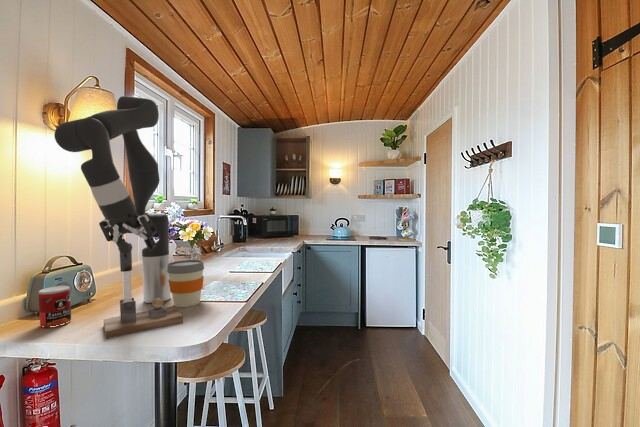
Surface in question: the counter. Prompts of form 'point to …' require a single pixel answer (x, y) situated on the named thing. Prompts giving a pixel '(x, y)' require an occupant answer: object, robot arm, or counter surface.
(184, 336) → the counter surface
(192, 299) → the reusable coffee cup
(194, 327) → the counter surface
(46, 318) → the canned food
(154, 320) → the nutcracker bench
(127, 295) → the lever
